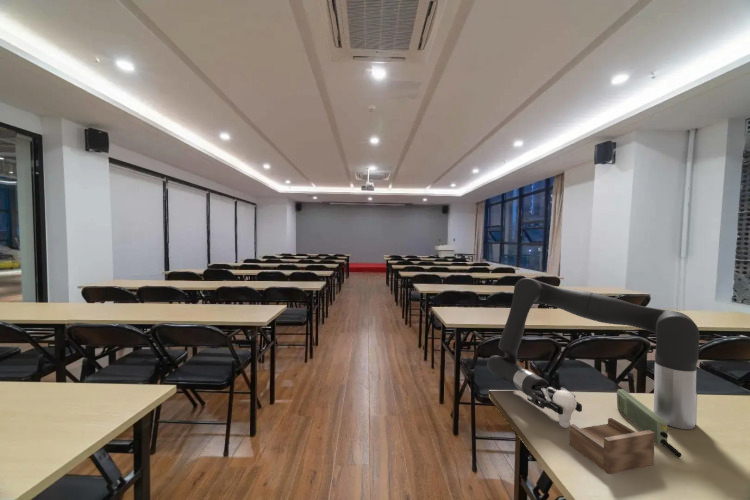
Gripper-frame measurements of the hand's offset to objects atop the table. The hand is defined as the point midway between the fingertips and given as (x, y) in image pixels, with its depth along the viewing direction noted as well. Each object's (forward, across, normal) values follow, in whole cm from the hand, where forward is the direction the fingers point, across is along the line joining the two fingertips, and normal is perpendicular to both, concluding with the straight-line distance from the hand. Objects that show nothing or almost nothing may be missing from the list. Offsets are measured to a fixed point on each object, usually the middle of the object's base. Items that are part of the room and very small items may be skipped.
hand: (571, 409), depth 92 cm
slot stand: (+10, +2, +6) cm, 12 cm away
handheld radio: (+4, +22, +7) cm, 23 cm away
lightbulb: (-2, 0, +7) cm, 7 cm away
